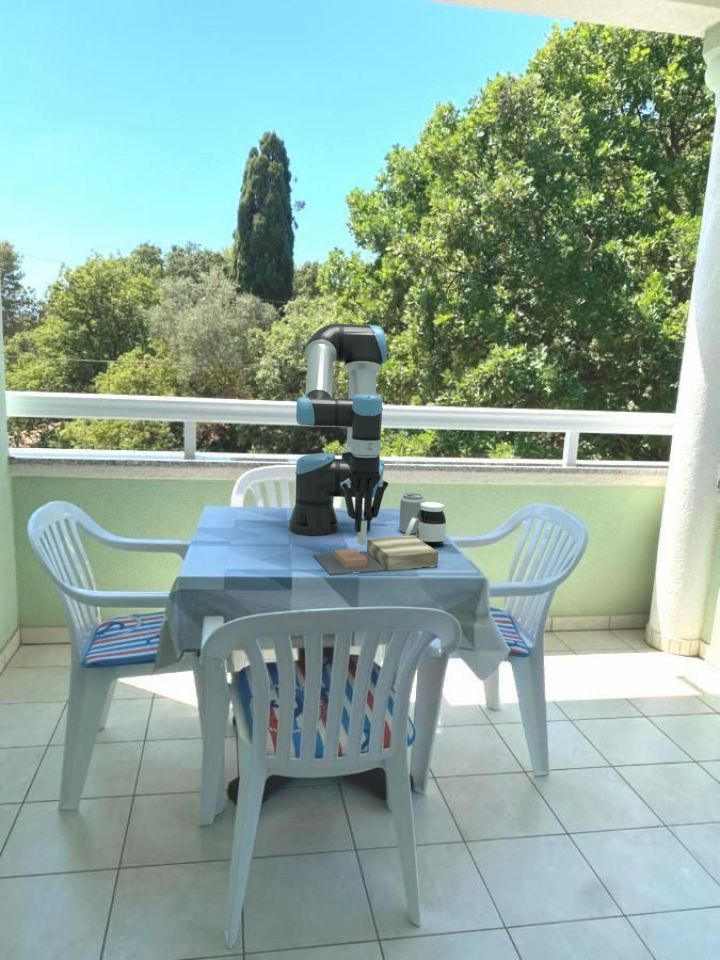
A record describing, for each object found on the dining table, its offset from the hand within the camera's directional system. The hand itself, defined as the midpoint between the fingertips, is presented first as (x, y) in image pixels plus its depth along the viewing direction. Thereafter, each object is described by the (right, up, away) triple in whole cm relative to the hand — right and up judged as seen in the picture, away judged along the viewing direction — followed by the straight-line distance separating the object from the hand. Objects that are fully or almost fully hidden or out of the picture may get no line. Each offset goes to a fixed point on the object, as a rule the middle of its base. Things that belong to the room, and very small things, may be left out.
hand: (361, 543), depth 178 cm
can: (+16, 0, +33) cm, 36 cm away
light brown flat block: (-3, -3, -1) cm, 4 cm away
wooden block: (+11, -5, +5) cm, 13 cm away
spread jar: (+18, -2, +22) cm, 29 cm away
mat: (-3, -5, 0) cm, 6 cm away
